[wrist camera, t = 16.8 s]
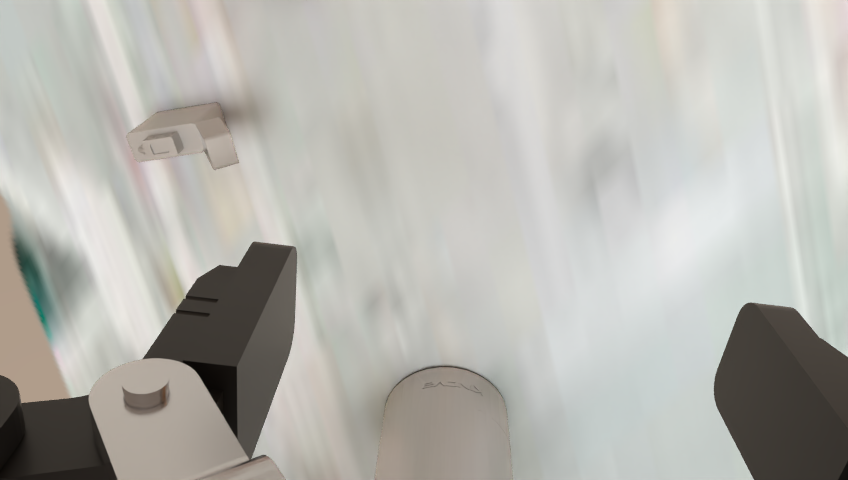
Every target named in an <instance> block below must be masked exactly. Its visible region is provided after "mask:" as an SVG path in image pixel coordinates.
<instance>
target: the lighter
mask: <svg viewBox="0 0 848 480" xmlns="http://www.w3.org/2000/svg"><path fill="white" fill-rule="evenodd" d="M126 137H127V140H128V143H129V145H130V148H131V151H132V153H133V156H134V159H135V160H136V161H137V162H145V161H151V160H157V159H164V158H170V157H177V156H183V155H189V154H196V153H202V152H203V151H204V152H205V154H206V156H207V158H208V160H209V162H210V164H211V165H212V167H213V169H214V170H216V169H219V168H223V167H226V166H230V165H233V164H237V163H239V160H238V157H237V153H236V150H235V147H234V144H233V140H232V137H231V134H230V131H229V130H228V128H227V126H226V123H225V120H224V116H223V113H222V110H221V107H220V104H218V103H217V102H216V103H209V104H203V105H197V106H191V107H185V108H179V109H173V110H167V111H161V112H157V113H156V114H154V115H153V116H151V117H150V118H149V119H147V120H146V121H145V122H143V123H142V124H140V125H139V126H138V127H136V128H135V129H133V130H132V131H131V132H129V133H128V134H127V136H126Z"/></svg>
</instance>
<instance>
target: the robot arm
mask: <svg viewBox="0 0 848 480" xmlns="http://www.w3.org/2000/svg"><path fill="white" fill-rule="evenodd" d="M296 273H297V251H296V247H294V246H286V245H278V244H269V243H261V242H253V243H252V244H251V246H250V247H249V249H248V251H247V252H246V254H245V256H244V257H243V259H242V261H241V262H240V264H239V266H238V267H231V266H223V265H219V266H217V267H216V268H214V269H212V270H211V271H209V272H207V273H206V274H204V275H202V276H201V277H199V278H198V279H197V280H196V281H195V283H194V284H193V286H192V287H191V289H190V290H189V292H188V293H187V295H186V299H183V301H182V302H181V304H180V305H179V306H178V308H177V309H176V313H174V314H173V315H172V317H171V318H170V320H169V321H168V323H167V324H166V326H165V327H164V329H163V330H162V331H161V333H160V334H159V336H158V337H157V339H156V340H155V342H154V343H153V345H152V346H151V348H150V349H149V351H148V352H147V354H146V355H145V356H144V358H143V359H141V360H137V361H132V362H129V363H125V364H123V365H120V366H118V367H116V368H114V369H112V370H110V371H108V372H107V373H105V374H104V375H103V376H101V377H100V378H99V379H98V380H97V381H96V382H95V384H94V385H93V387H92V388H91V391H90V393H89V395H86V396H82V397H76V398H69V399H59V400H49V401H39V402H29V403H21V399H20V394H19V390H18V388H17V386H16V385H15V383H13V382H12V381H11V380H10V379H8V378H6V377H4V376H1V375H0V480H286V479H285V478H284V476H283V475H282V473H281V472H280V470H279V468H278V467H277V465H276V464H275V463H274V461H273V460H272V459H271V458H269V457H268V456H266V455H261V456H258V457H256V458H253V459H251V458H252V455H253V452H254V449H255V447H256V444H257V441H258V438H259V436H260V433H261V430H262V428H263V425H264V422H265V419H266V417H267V414H268V411H269V408H270V406H271V403H272V400H273V397H274V395H275V392H276V389H277V387H278V384H279V381H280V378H281V376H282V373H283V370H284V367H285V365H286V362H287V359H288V356H289V353H290V349H291V345H292V340H293V333H294V324H295V300H296ZM714 397H715V402H716V406H717V408H718V410H719V412H720V414H721V416H722V418H723V420H724V422H725V424H726V426H727V428H728V430H729V432H730V434H731V436H732V438H733V440H734V441H735V443H736V445H737V447H738V449H739V451H740V453H741V455H742V457H743V459H744V461H745V463H746V465H747V467H748V469H749V471H750V473H751V475H752V477H753V479H754V480H848V357H847V356H845V355H844V354H842V353H841V352H840V351H838V350H837V349H835V348H834V347H833V346H831V345H830V344H828V343H827V342H826V341H824V340H823V339H821V338H819V337H818V336H817V334H816V333H815V332H814V331H813V329H812V328H811V327H810V326H809V325H808V323H807V322H806V321H805V320H804V319H803V317H802V316H801V315H800V314H799V313H798V311H797V310H795V309H794V308H791V307H783V306H775V305H766V304H758V303H747V304H745V305H744V306H743V307H742V308H741V310H740V312H739V314H738V316H737V319H736V322H735V324H734V327H733V330H732V332H731V335H730V337H729V340H728V343H727V345H726V348H725V351H724V353H723V356H722V359H721V361H720V364H719V367H718V369H717V372H716V376H715V382H714ZM375 480H513V470H512V460H511V448H510V438H509V428H508V418H507V409H506V406H505V403H504V400H503V398H502V396H501V395H500V393H499V392H498V390H497V389H496V388H495V387H494V386H493V385H492V384H491V383H490V382H489V381H487V380H486V379H484V378H482V377H481V376H479V375H477V374H475V373H472V372H470V371H467V370H463V369H458V368H451V367H438V368H431V369H426V370H423V371H420V372H417V373H414V374H412V375H410V376H409V377H407V378H405V379H404V380H402V381H401V382H400V383H399V384H398V385H397V386H396V387H395V388H394V389H393V391H392V392H391V394H390V395H389V397H388V400H387V402H386V405H385V411H384V418H383V425H382V432H381V439H380V445H379V451H378V458H377V465H376V473H375Z"/></svg>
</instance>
